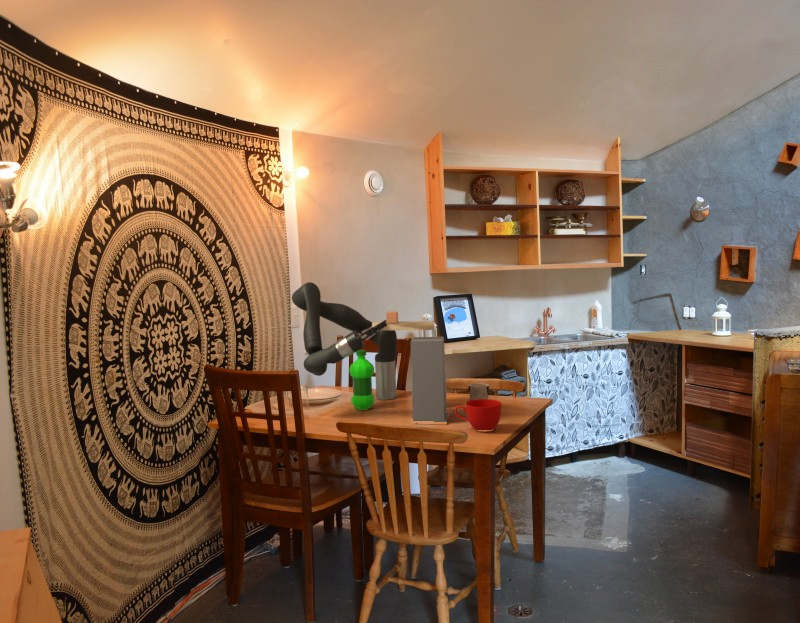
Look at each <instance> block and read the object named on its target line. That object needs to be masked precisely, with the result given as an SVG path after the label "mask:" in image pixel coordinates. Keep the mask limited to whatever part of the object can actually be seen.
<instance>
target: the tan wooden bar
mask: <svg viewBox="0 0 800 623" xmlns="http://www.w3.org/2000/svg"><path fill="white" fill-rule="evenodd" d="M372 322H373V323H372V327H374V326H376V325H378V324H380V323H381V322H382V321H372ZM386 324H387V326H386V327H384V328H382V329H381V330H395V331H434V330H435V320H433V321H431V320H428V321H426V320H423V321H421V320H420V321H419V320H418V321H398V322H397V323H387V322H386ZM376 327H377V326H376ZM381 330H379V331H381Z"/></svg>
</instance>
